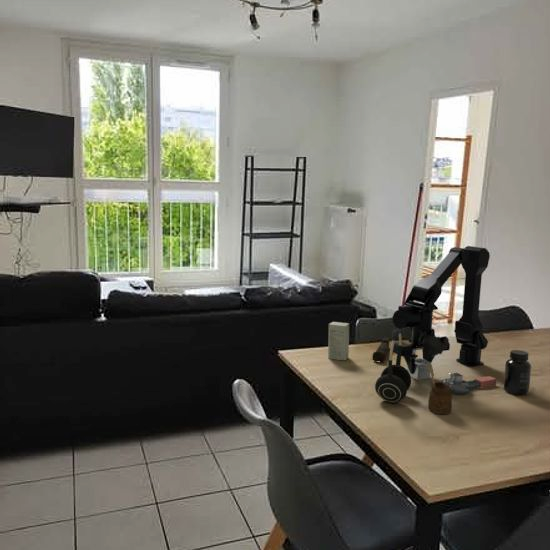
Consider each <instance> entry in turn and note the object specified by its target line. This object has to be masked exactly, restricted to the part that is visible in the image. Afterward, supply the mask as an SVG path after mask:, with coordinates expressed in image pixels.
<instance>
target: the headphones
mask: <svg viewBox="0 0 550 550" xmlns="http://www.w3.org/2000/svg"><path fill="white" fill-rule="evenodd" d="M397 338H398V342H399V345H398V353H397V354H396V360H395V364H393V354H394V352H393V347H394V343H395V342H397V341H396V340H397ZM401 342H402V329H398V328H395V329H393V330H392V334H391V344H390V348H389V349H390V350H389V355H388V357H389V358H388V364H387V365H388V366H387V367H385V368H384V369H383V371H382V372H381V374H380V377H378V378H377V379H376V382H375V385H374V390H375V392H376V394H377V395H378V397H380V398H381V399H382V400H384V401H386V402H388V403H399V402H402V401H403V400H404V399H405V398H406V397H407V393H408V391H409V389H410V387H411V385H412V377H411V376H410V373H409V372H408V370H407V368H405V366H403V365H401V363H402V356H401V350H402V345H401Z"/></svg>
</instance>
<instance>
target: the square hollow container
mask: <svg viewBox="0 0 550 550" xmlns="http://www.w3.org/2000/svg"><path fill="white" fill-rule="evenodd" d="M431 364H432V362H429V361H427V360H424V359H423V357H417V358H416V359H415V367H414V373H413V374H411V373H410V371H409V368H408V366H407V368H406V369H407V370H408V372H409V373H410V376H411V379H414V380H416V381H420V380H421V381H422V380H426V379H430V378H431V371H430V365H431Z"/></svg>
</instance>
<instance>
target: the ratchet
mask: <svg viewBox="0 0 550 550" xmlns="http://www.w3.org/2000/svg"><path fill="white" fill-rule="evenodd" d="M451 373H452V375H451V374H450V375H451V376H450V375H449V378H448V377H446V378H444V379H443V381H442V382H443V383H447V384H449V385H450V386H451V389H452V391H451V393H452V396H453V395H454V396H466V395H468V394H469V391H471V390H474V389H482V388H488V387H493V386H496V384H497V378H496V377H492V376H490V375H488V376H482V377H476V378H474V379H473V380H468V381H466V380H464V374H463V375H462V374H460V373H458V372H451ZM451 379H454V380H451ZM444 380H446V382H445V381H444ZM451 382H453V383H451Z"/></svg>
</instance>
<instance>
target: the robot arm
mask: <svg viewBox="0 0 550 550" xmlns="http://www.w3.org/2000/svg"><path fill="white" fill-rule="evenodd" d="M490 255H491V254H490V252H489V250H488V249H487V248H485V247H479V246H471V245H467V246H465V247H464V248H463V247H462V248H461V247H456V246H454V247H451V248H450V249H449V251H448V254H447V255H446V256H445V257H444V258H443V260H441V262H440V263H438V265H437V266H436V268H435V269H434V270H433V271H432V272H431V273H430V274H429V275H428V276H426V277H424V278H421V279H420V280H419V281H417V282H415V284H414V285H413V286H412V287H411V290H410V292H409V294H408V296H407V298H406V299H405V301H404V303H403V305H399V306H398V309H397V310H395V311H394V313H393V315H392V322H393V325H394V326H395V328H396V329H400V330H404V329H409V330H411V337H410V338H408V342H409V343H410V344H409V343H407V342H404V341H401V345H402V350H401V357H403V358H404V361H405V363H406V366H407V367H408V368H409V371H410V373H411V374H413V373H414V367H415V359H416V358H419V354H418V355H417V353H416V351H418V350H421V352H422V359H424V360H427V361H429V362H431V363H432V362H433V360H434V359H435V357H436V356H438V355H442V354H443V352H446V351H450V348H451V344H450V341H449V338H448V337H447V336H445V335H444V336H436V330H435V329H434V328H433V316H434V315H433V314H434V311H436V310H438V309H439V307H438V306H437V305H436V304H435V303H437V301H438V299H439V298H440V296H441V294H442V288H443V286H444V285H445V284H446V282H447V281H448V280H449V279H450V277H451V276H452V275H453V274H454V273H455V272H456V270H457V269H458V268H459V267H460V265H461V266H462V268H463V269H462V270H464V273H465V276H464V277H465V278H464V287H463V288H464V289H463V300H462V301H463V302H462V304H463V305H462V314H461V317H460V318H459V319H458V320H455V322H454V330H453V331H454V332H453V333H454V334H455V338H456V339H455V340H456V344H460V349H459V358H456V360H455V361H457V362H458V363H461V364H463V365H465V366H468V367H474V366H475V367H476V366H481V365H484V363H485V362H483V361H482V360H481V359H482V350H485V349H486V348H487V346H488V344H489V341H488V339H487V338H486V336H485V335H484V332H483V331H484V330H483V329H484V328H483V324H482V322H481V320H480V317H479V310H480V299H481V289H482V288H481V287H482V277H483V274H484V272H486V270H487V268H488V267H489V262H490ZM398 345H399V341H395V342H394V347H393V354H395V355H397V353H398Z"/></svg>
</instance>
